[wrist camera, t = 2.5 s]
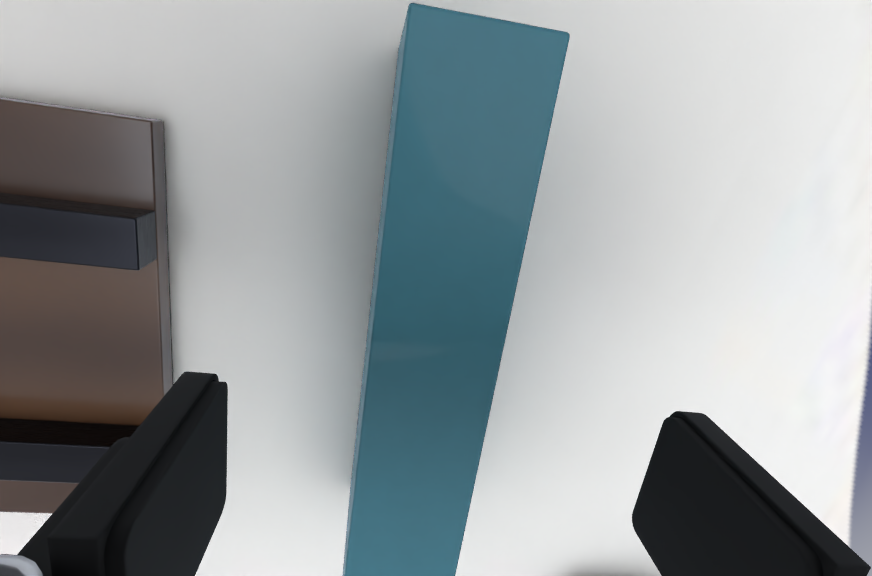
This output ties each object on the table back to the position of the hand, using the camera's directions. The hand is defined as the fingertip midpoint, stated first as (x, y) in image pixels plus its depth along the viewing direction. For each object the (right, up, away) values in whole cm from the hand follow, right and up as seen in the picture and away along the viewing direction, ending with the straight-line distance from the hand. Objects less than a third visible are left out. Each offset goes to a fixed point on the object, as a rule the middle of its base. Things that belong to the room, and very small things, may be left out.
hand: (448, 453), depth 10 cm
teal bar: (-1, +3, +7) cm, 7 cm away
